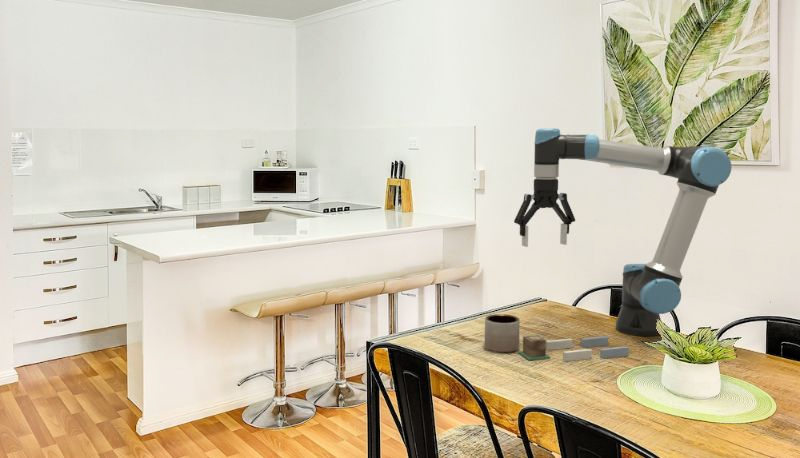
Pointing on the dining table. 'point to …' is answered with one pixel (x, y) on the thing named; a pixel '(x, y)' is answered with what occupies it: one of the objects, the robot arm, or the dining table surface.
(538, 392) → the dining table surface
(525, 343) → the letter cube
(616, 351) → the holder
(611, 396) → the dining table surface
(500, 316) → the planter
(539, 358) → the pad
